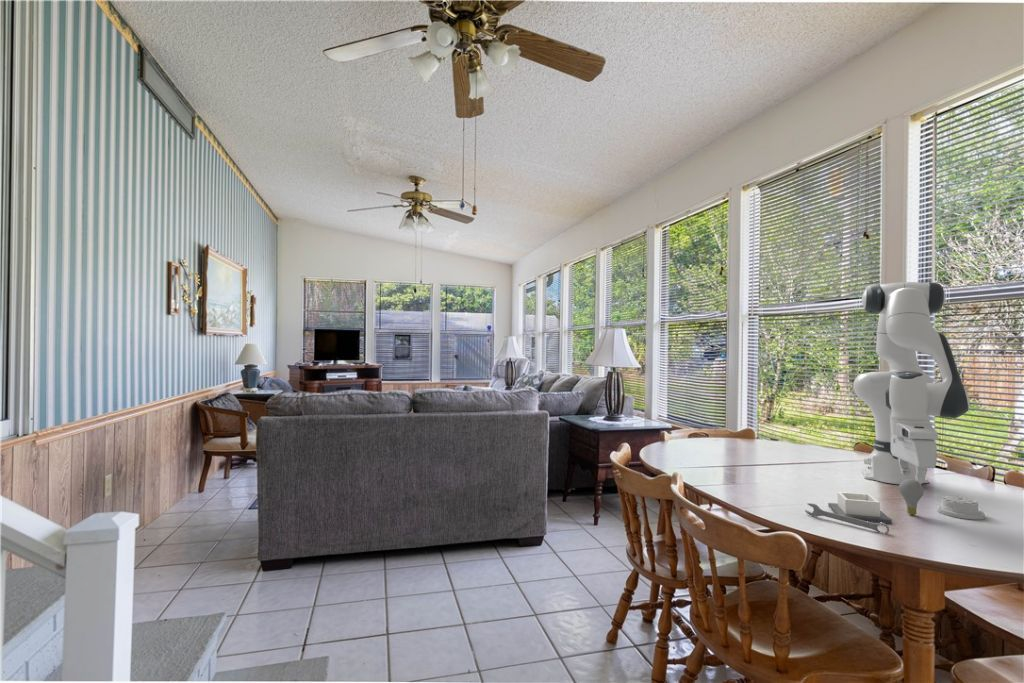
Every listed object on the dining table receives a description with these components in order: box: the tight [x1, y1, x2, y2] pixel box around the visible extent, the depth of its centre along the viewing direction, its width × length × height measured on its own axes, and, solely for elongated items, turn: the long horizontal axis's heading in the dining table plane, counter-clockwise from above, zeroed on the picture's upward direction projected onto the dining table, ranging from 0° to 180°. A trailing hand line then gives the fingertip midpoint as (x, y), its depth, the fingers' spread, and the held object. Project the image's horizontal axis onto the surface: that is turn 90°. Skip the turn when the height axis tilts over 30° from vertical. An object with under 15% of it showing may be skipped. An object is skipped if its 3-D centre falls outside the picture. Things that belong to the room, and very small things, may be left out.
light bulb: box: [898, 479, 925, 516], centre depth 139 cm, size 6×6×10 cm
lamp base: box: [827, 491, 893, 524], centre depth 140 cm, size 12×12×5 cm
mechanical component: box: [936, 495, 986, 520], centre depth 139 cm, size 10×4×10 cm
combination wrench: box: [804, 502, 890, 535], centre depth 133 cm, size 4×1×20 cm
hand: (912, 478), depth 138 cm, fingers open, 8 cm apart
